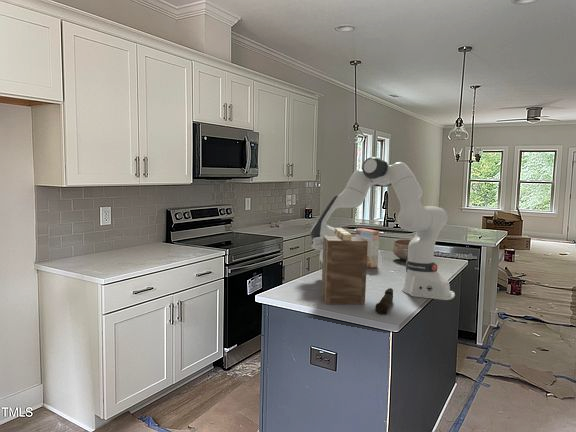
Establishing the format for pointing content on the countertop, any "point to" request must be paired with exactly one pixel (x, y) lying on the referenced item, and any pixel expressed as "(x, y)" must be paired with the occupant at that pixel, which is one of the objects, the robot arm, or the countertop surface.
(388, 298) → the hand tool
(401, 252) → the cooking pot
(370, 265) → the cracker box
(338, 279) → the wooden shelf
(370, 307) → the countertop surface
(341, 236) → the oak slat
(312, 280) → the countertop surface
